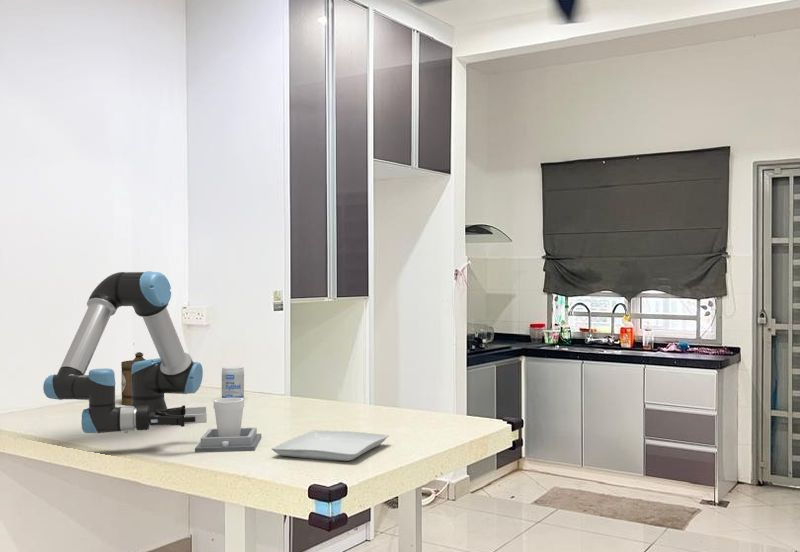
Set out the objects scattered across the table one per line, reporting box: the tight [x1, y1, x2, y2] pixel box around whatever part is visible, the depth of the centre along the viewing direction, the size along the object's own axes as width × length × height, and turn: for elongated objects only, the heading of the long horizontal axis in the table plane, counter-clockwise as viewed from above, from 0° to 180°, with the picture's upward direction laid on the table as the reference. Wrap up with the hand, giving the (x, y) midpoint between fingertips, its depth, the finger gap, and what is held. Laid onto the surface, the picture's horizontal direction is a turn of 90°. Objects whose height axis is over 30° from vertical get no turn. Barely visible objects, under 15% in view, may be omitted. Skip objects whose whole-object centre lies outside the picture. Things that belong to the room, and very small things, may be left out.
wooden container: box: [120, 351, 146, 406], centre depth 329 cm, size 15×15×22 cm
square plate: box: [271, 429, 390, 462], centre depth 231 cm, size 27×27×4 cm
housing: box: [194, 426, 262, 453], centre depth 243 cm, size 20×18×4 cm
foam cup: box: [213, 397, 245, 437], centre depth 243 cm, size 10×9×13 cm
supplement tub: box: [221, 365, 245, 400], centre depth 332 cm, size 10×10×15 cm
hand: (206, 414), depth 241 cm, fingers open, 13 cm apart
